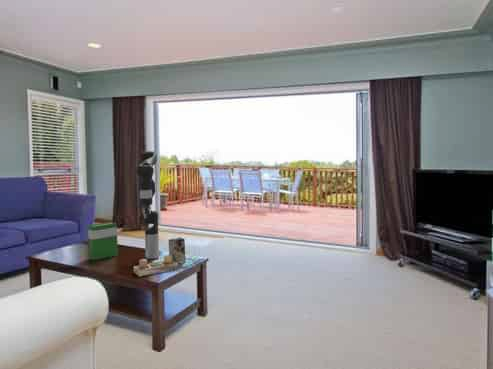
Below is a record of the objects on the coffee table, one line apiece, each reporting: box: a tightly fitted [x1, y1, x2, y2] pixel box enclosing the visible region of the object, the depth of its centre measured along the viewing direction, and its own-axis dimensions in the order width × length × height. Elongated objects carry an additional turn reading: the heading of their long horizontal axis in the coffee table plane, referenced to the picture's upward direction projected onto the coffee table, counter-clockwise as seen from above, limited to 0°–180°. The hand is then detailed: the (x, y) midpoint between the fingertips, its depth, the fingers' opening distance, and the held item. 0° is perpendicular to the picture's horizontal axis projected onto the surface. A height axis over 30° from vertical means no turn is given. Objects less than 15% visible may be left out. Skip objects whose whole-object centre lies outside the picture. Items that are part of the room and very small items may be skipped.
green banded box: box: [87, 221, 119, 261], centre depth 266 cm, size 18×7×24 cm, turn 137°
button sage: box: [151, 260, 161, 267], centre depth 234 cm, size 5×5×5 cm
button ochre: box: [163, 254, 172, 264], centre depth 238 cm, size 5×5×5 cm
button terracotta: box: [138, 258, 148, 269], centre depth 229 cm, size 5×5×5 cm
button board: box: [132, 260, 179, 277], centre depth 234 cm, size 11×25×4 cm, turn 124°
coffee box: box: [168, 237, 186, 264], centre depth 250 cm, size 9×6×16 cm
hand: (147, 224), depth 234 cm, fingers closed
